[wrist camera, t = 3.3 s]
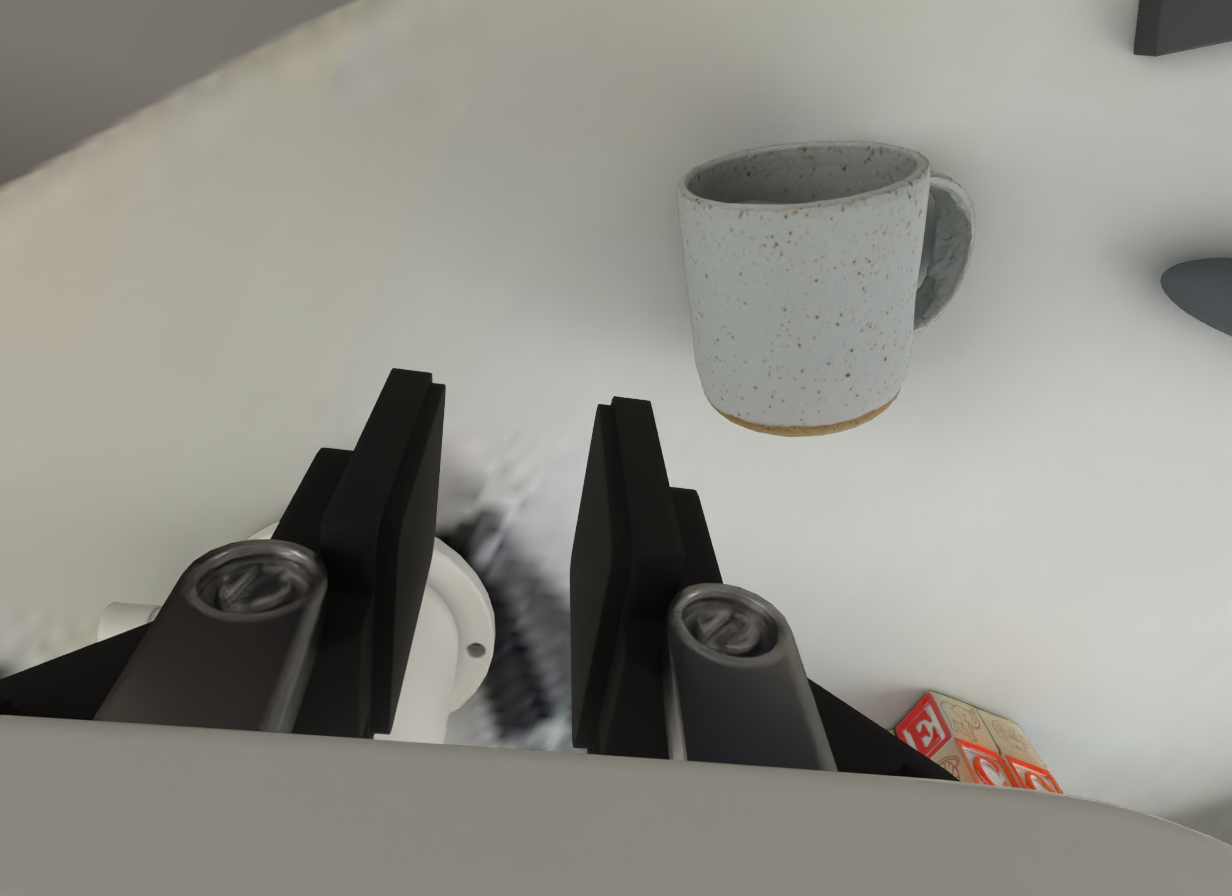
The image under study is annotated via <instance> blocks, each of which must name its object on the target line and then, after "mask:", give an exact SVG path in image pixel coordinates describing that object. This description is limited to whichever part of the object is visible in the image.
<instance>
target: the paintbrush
mask: <svg viewBox="0 0 1232 896" xmlns="http://www.w3.org/2000/svg"><path fill="white" fill-rule="evenodd" d="M1161 285H1162V288H1163V290H1164V291H1165V293H1166V294H1167V295H1168V296H1169V298H1170V299H1171V300H1172V301H1173V302H1174V303H1175V304H1177V305H1178V306H1179V307H1180V308H1181V309H1183V310H1184V311H1186V312H1187V313H1188V314H1190V315H1192V316H1193V317H1195V318H1197V319H1198V320H1200V321H1202V322H1204V323H1205V324H1207V325H1209V326H1211V327H1213V328H1215V329H1217V330H1219V331H1222V332H1224V333H1226V334H1228V335H1230V336H1232V258H1211V259H1201V260H1194V261H1189V262H1185V263H1181V264H1178V265H1175V266H1173V267H1171V268H1169V269H1168V270H1166V271H1165V272H1164V273H1163V274H1162V276H1161Z"/></svg>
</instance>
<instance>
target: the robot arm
mask: <svg viewBox="0 0 1232 896" xmlns="http://www.w3.org/2000/svg"><path fill="white" fill-rule="evenodd" d="M445 392H446V387H445V385H444V384H436V383H432V373H428V372H420V371H412V370H404V369H396V368H393V369H392V370H391V372H390V374H389V376H388V379H387V381H386V383H385V385H384V387H383V389H382V391H381V393H380V396H379V398H378V400H377V402H376V404H375V406H374V408H373V411H372V413H371V415H370V417H369V419H368V421H367V423H366V425H365V428H364V430H363V432H362V434H361V436H360V438H359V440H358V443H357V445H356V447H355V449H354V451H350V450H341V449H333V448H321V449H320V450H319V451H318V453H317V454H316V456H315V458H314V460H313V462H312V463H311V465H310V467H309V469H308V471H307V473H306V474H305V476H304V478H303V480H302V482H301V484H300V485H299V487H298V489H297V491H296V493H295V494H294V496H293V498H292V500H291V502H290V504H289V505H288V507H287V509H286V511H285V513H284V515H283V516H282V518H281V520H280V521H278V522H275V523H273V524H271V525H270V526H268V527H266V528H264V529H262V530H260V531H258V532H257V533H255V534H253V535H252V536H250V537H249V538H248V539H247V540H246V541H241V542H235V543H230V544H228V545H225V546H222V547H219V548H216V549H214V550H211V551H209V552H208V553H206V554H204V555H203V556H201V557H200V558H198V559H196V560H195V561H194V562H193V563H192V564H191V565H190V566H189V567H188V568H187V569H186V570H185V572H184V573H183V574H182V575H181V577H180V579H179V580H178V582H177V584H176V585H175V587H174V588H173V590H172V592H171V593H170V595H169V597H168V598H167V600H166V601H165V603H164V605H163V606H162V608H161V607H160V606H155V605H144V604H132V603H121V602H113V603H111V604H109V605H108V606H107V608H106V609H105V610H104V612H103V614H102V616H101V619H100V621H99V625H98V631H97V643H94V644H92V645H89V646H87V647H84V648H81V649H79V650H76V651H73V652H71V653H68V654H66V655H63V656H60V657H58V658H55V659H53V660H50V661H47V662H45V663H42V664H40V665H37V666H34V667H32V668H29V669H27V670H24V671H21V672H19V673H16V674H14V675H11V676H8V677H6V678H3V679H0V896H1232V846H1231V845H1229V844H1227V843H1225V842H1222V841H1220V840H1218V839H1216V838H1213V837H1211V836H1208V835H1205V834H1203V833H1200V832H1198V831H1195V830H1192V829H1190V828H1187V827H1184V826H1182V825H1179V824H1177V823H1174V822H1171V821H1169V820H1166V819H1164V818H1161V817H1158V816H1154V815H1151V814H1147V813H1143V812H1140V811H1136V810H1132V809H1129V808H1125V807H1121V806H1118V805H1114V804H1110V803H1106V802H1103V801H1098V800H1092V799H1087V798H1082V797H1076V796H1071V795H1065V794H1060V793H1054V792H1049V791H1043V790H1033V789H1024V788H1015V787H1005V786H996V785H987V784H977V783H968V782H961V781H960V780H958V779H957V778H956V777H955V776H953V775H952V774H951V773H950V772H948V771H947V770H946V769H944V768H943V767H941V766H940V765H938V764H937V763H935V762H934V761H932V760H931V759H929V758H928V757H926V756H925V755H923V754H922V753H920V752H919V751H917V750H916V749H914V748H913V747H911V746H910V745H908V744H907V743H905V742H904V741H902V740H901V739H899V738H898V737H896V736H895V735H893V734H892V733H890V732H889V731H887V730H885V729H884V728H882V727H881V726H879V725H878V724H876V723H875V722H873V721H872V720H870V719H869V718H867V717H866V716H864V715H863V714H861V713H860V712H858V711H857V710H855V709H854V708H852V707H851V706H849V705H848V704H846V703H845V702H843V701H842V700H840V699H839V698H837V697H836V696H834V695H833V694H831V693H830V692H828V691H827V690H825V689H824V688H822V687H821V686H819V685H817V684H816V683H814V682H813V681H811V680H810V679H808V678H807V676H806V673H805V670H804V667H803V664H802V661H801V658H800V654H799V651H798V648H797V645H796V642H795V639H794V636H793V633H792V630H791V628H790V626H789V624H788V623H787V621H786V619H785V617H784V616H783V615H782V614H781V613H780V612H779V611H778V610H777V609H776V608H775V607H774V606H773V605H772V604H771V603H769V602H768V601H766V600H765V599H763V598H762V597H760V596H759V595H757V594H755V593H752V592H750V591H747V590H745V589H742V588H740V587H736V586H731V585H727V584H723V581H722V578H721V574H720V571H719V567H718V564H717V560H716V556H715V553H714V549H713V546H712V542H711V539H710V535H709V531H708V528H707V524H706V521H705V517H704V513H703V510H702V506H701V503H700V499H699V496H698V494H697V491H696V490H693V489H684V488H675V487H670V486H669V481H668V477H667V472H666V468H665V463H664V459H663V455H662V450H661V446H660V441H659V437H658V432H657V428H656V423H655V419H654V415H653V410H652V406H651V402H650V401H647V400H639V399H632V398H624V397H616V396H614V397H613V399H612V402H611V405H603V404H598V407H597V411H596V416H595V422H594V427H593V433H592V439H591V445H590V451H589V456H588V462H587V468H586V474H585V480H584V485H583V491H582V497H581V503H580V509H579V514H578V520H577V526H576V532H575V538H574V543H573V549H572V556H571V565H570V617H571V686H572V743H573V747H574V748H587V754H580V753H565V752H551V751H536V750H522V749H507V748H493V747H478V746H463V745H449V744H444V741H445V735H446V729H447V723H448V716H449V715H450V714H451V713H453V712H454V711H456V710H457V709H458V708H460V707H461V706H462V705H463V704H464V703H465V702H466V701H467V700H468V699H469V698H470V697H471V696H472V695H473V694H474V693H475V692H476V691H477V689H478V688H479V686H480V684H481V683H482V681H483V680H484V678H485V676H486V675H487V672H488V669H489V666H490V663H491V660H492V657H493V650H494V641H495V619H494V611H493V608H492V605H491V602H490V599H489V595H488V593H487V591H486V589H485V587H484V586H483V584H482V582H481V581H480V579H479V577H478V575H477V574H476V572H475V571H474V570H473V569H472V568H471V567H470V566H469V565H468V564H467V562H466V561H465V560H464V559H463V558H462V557H461V556H460V555H459V554H458V553H457V552H455V551H454V550H453V549H451V548H450V547H449V546H448V545H446V544H445V543H444V542H442V541H441V540H440V539H438V538H436V537H435V528H436V514H437V501H438V487H439V474H440V460H441V447H442V434H443V420H444V407H445Z"/></svg>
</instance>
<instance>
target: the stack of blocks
mask: <svg viewBox="0 0 1232 896" xmlns="http://www.w3.org/2000/svg"><path fill="white" fill-rule="evenodd" d="M890 733H892V734H893V735H895V736H896V737H898V738H899V739H901V740H902V741H904V742H905V743H907V744H908V745H910V746H911V747H913V748H914V749H916V750H917V751H919V752H920V753H922V754H923V755H925V756H926V757H928V758H929V759H931V760H932V761H934V762H935V763H937V764H938V765H940V766H941V767H943V768H944V769H946V770H947V771H948V772H950V773H951V774H952V775H953V776H955V777H956V778H957V779H958V780H960V781H961V782H968V783H977V784H987V785H996V786H1005V787H1015V788H1024V789H1033V790H1043V791H1049V792H1054V793H1060V794H1063V792H1062V791H1061V789H1060V788H1059V786H1058V784H1057V783H1056V781H1055V780H1054V778H1053V777H1052V775H1051V774H1050V772H1049V771H1048V770H1047V769H1046V766H1045V765H1044V763H1043V762H1042V760H1041V759H1040V757H1039V756H1038V754H1037V753H1036V751H1035V749H1034V748H1033V746H1032V745H1031V743H1030V742H1029V740H1028V739H1027V737H1026V735H1025V734H1024V732H1023V731H1022V729H1021V728H1020V726H1019V725H1018V724H1016V723H1014V722H1011V721H1009V720H1006V719H1004V718H1001V717H999V716H996V715H993V714H991V713H988V712H985V711H982V710H980V709H976V708H974V707H973V706H971V705H968V704H966V703H963V702H960V701H958V700H955V699H952V698H949V697H947V696H944V695H941V694H938V693H935V692H931V691H929V692H927V693H926V694H925V695H924V697H923V698H922V699H921V700H920V701H919V702H918V703H917V704H916V706H915V707H914V708H913V709H912V710H911V711H910V712H909V713H908V714H907V715H906V717H905V718H904V719H903V720H902V721H901V722H900V723H899V724H898V725H897V726H896V729H895V730H891V731H890Z"/></svg>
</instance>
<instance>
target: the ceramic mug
mask: <svg viewBox="0 0 1232 896" xmlns="http://www.w3.org/2000/svg"><path fill="white" fill-rule="evenodd" d="M929 191H930V192H931V194H932V195H933V198H934V200H935V208H936V211H937V222H936V230H935V237H934V242H933V247H932V254H931V261H930V263H929V266H928V268H927V276H926V277H925V279H924V281H923V283H922V285H921V286H920V288H919V289H918V290H917V284H918V277H919V269H920V262H921V255H922V248H923V240H924V231H925V222H926V213H927V204H928V196H929ZM677 202H678V211H679V219H680V227H681V236H682V245H683V254H684V264H685V273H686V282H687V290H688V297H689V304H690V313H691V323H692V334H693V344H694V354H695V362H696V366H697V370H698V373H699V377H700V380H701V384H702V387H703V390H704V393H705V395H706V397H707V399H708V401H709V402H710V403H711V405H712V406H713V407H714V408H715V409H716V410H717V411H718V412H719V413H720V414H721V415H723V416H724V417H725V418H727V419H728V420H730V421H731V422H733V423H736V424H738V425H740V426H743V427H745V428H748V429H751V430H753V431H756V432H761V433H766V434H772V435H779V436H786V437H804V436H820V435H826V434H831V433H836V432H841V431H844V430H848V429H851V428H854V427H857V426H859V425H861V424H863V423H865V422H868V421H870V420H871V419H873V418H875V417H876V416H878V415H879V414H880V413H882V412H883V411H884V410H886V409H887V408H888V407H889V406H890V405H891V403H892V402H893V401H894V400H895V399H896V397H897V395H898V393H899V391H900V388H901V386H902V383H903V381H904V377H905V374H906V370H907V367H908V362H909V358H910V353H911V348H912V342H913V335H914V334H916V333H918V332H920V331H922V330H923V329H925V328H926V327H927V326H928V325H930V324H931V323H932V322H933V321H935V320H936V319H937V318H938V317H940V315H941V314H942V313H943V312H944V311H945V309H946V308H947V306H948V305H949V304H950V302H951V301H952V300H953V298H954V296H955V294H956V293H957V291H958V289H959V287H960V286H961V284H962V281H963V278H964V276H965V273H966V271H967V268H968V265H969V261H970V257H971V254H972V248H973V243H974V235H975V216H974V210H973V206H972V202H971V200H970V198H969V196H968V195H967V194H966V192H965V191H964V190H963V189H962V187H961V186H960V185H959V184H957V183H956V182H954V181H953V180H952V178H949V177H947V176H945V175H942V174H940V173H936V172H932V171H930V163H929V161H928V160H927V159H926V158H925V157H923V156H922V155H921V154H920V153H919V152H916V151H912V150H909V149H905V148H902V147H898V146H892V145H887V144H881V143H867V142H856V141H852V142H843V141H817V142H811V143H804V144H789V145H777V146H771V147H765V148H760V149H754V150H746V151H743V152H741V153H733V154H730V155H727V156H724V157H722V158H718V159H715V160H711V161H709V162H707V163H704V164H702V165H700V166H697V167H695V168H693V169H692V170H691V171H690V172H688V173H687V174H686V175H685V176H684V177H682V179H681V181H680V182H679V184H678V187H677Z"/></svg>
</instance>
